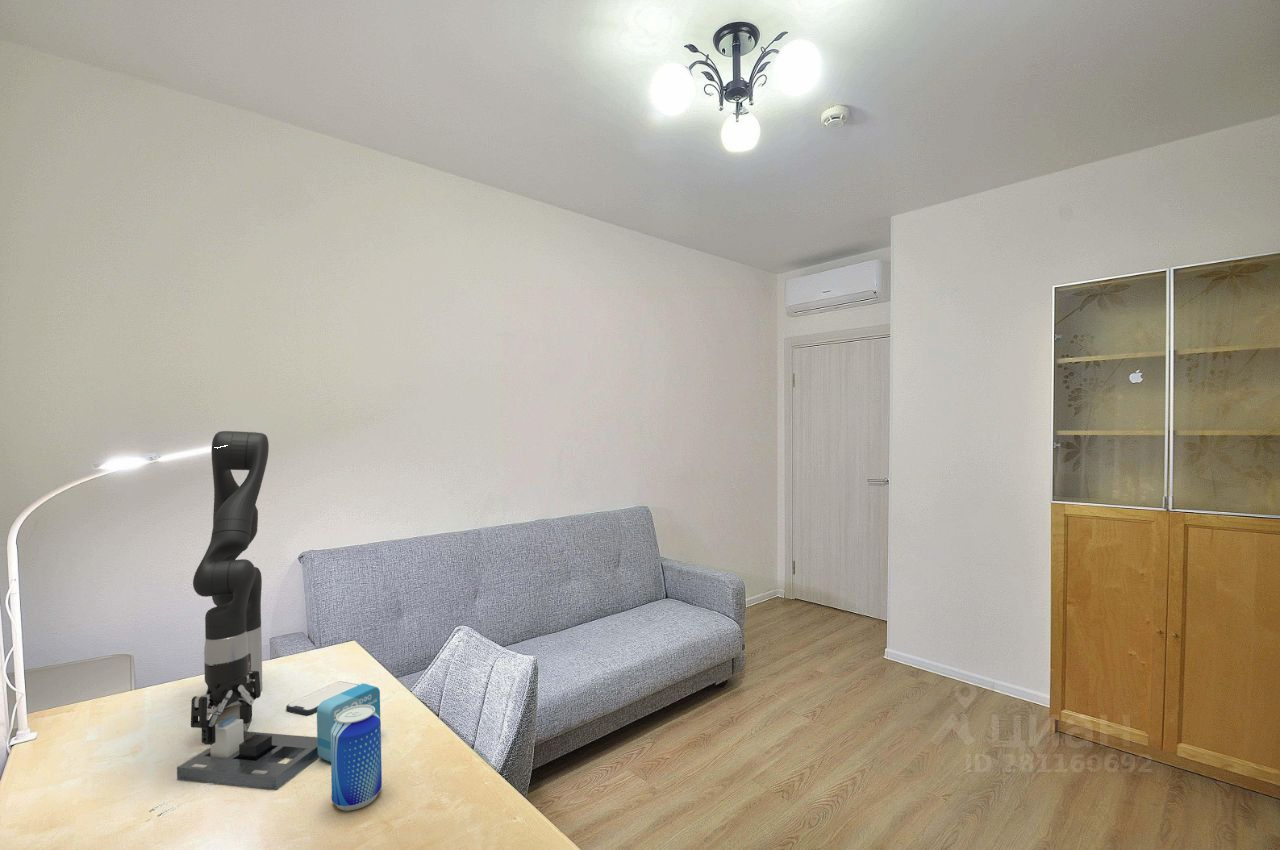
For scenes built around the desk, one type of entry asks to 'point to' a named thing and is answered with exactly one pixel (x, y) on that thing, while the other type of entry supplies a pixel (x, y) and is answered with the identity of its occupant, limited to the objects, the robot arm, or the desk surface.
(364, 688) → the teal rounded box
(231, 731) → the plug
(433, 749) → the desk surface
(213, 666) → the robot arm
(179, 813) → the desk surface
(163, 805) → the electronic cable
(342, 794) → the beer can
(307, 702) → the phone case
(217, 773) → the panel
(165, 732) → the desk surface
